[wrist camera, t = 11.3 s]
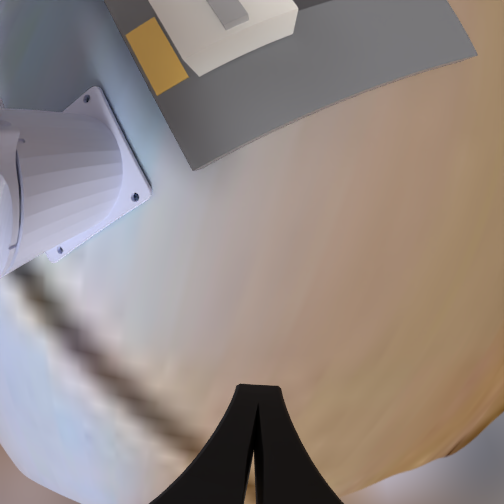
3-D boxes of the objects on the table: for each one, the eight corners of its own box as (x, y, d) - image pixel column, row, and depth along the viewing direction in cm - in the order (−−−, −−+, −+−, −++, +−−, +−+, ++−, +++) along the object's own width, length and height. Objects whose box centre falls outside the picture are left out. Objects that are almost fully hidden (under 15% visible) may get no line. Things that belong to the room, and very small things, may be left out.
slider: (199, 76, 13) (178, 55, 9) (159, 8, 11) (133, -21, 8) (292, 33, 12) (299, 1, 8) (245, -32, 10) (239, -69, 7)
